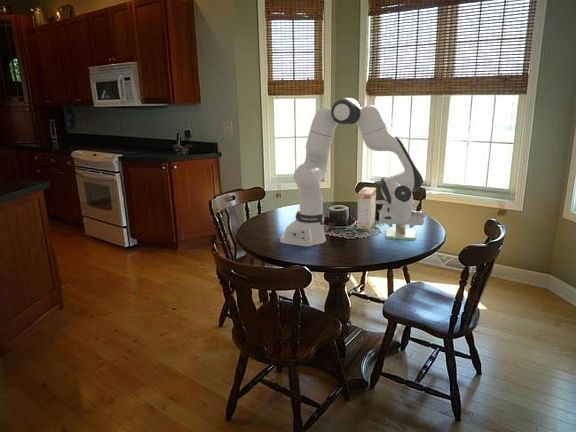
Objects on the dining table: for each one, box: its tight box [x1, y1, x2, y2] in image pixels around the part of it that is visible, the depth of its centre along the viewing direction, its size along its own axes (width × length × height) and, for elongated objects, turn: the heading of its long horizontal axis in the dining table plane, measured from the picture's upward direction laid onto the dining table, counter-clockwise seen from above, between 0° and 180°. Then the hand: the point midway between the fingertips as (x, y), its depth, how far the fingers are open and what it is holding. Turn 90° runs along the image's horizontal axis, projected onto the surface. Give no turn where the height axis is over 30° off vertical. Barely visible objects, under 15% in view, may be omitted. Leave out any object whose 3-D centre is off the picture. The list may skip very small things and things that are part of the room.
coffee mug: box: [375, 200, 388, 222], centre depth 238 cm, size 12×9×10 cm
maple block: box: [395, 224, 406, 234], centre depth 210 cm, size 4×4×9 cm
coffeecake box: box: [356, 186, 376, 231], centre depth 226 cm, size 15×7×20 cm, turn 157°
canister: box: [373, 177, 389, 204], centre depth 253 cm, size 11×10×20 cm
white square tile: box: [384, 227, 416, 241], centre depth 212 cm, size 14×14×1 cm
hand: (400, 226), depth 201 cm, fingers open, 8 cm apart
